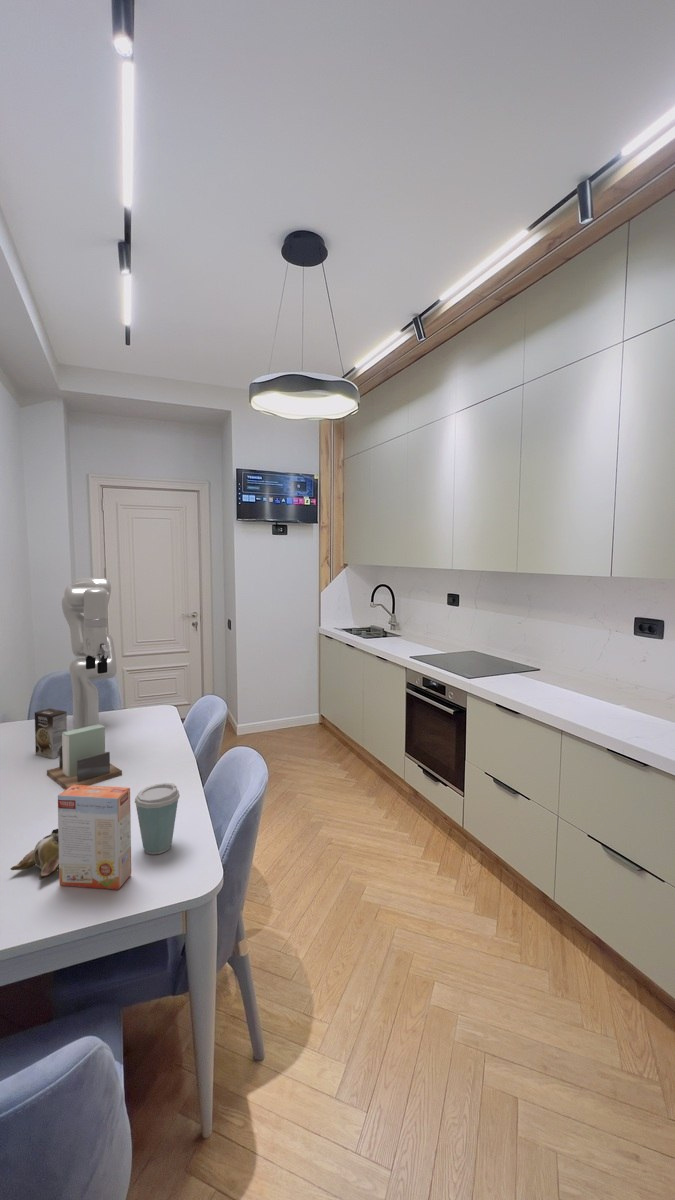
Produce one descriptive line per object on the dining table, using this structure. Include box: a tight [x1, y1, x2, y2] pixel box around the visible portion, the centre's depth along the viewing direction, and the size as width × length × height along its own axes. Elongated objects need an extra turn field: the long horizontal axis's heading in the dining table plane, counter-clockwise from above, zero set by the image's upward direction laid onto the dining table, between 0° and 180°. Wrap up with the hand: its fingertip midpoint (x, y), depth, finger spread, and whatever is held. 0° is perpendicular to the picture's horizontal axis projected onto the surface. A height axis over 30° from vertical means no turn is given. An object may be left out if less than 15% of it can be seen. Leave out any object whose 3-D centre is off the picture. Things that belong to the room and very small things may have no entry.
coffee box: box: [34, 708, 68, 760], centre depth 183 cm, size 9×6×16 cm
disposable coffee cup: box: [134, 782, 181, 855], centre depth 125 cm, size 11×11×15 cm
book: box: [62, 723, 106, 777], centre depth 166 cm, size 4×12×14 cm, turn 139°
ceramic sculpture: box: [10, 828, 59, 880], centre depth 117 cm, size 11×9×15 cm
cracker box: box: [57, 785, 132, 891], centre depth 111 cm, size 14×6×21 cm, turn 84°
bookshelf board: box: [46, 747, 123, 791], centre depth 166 cm, size 18×17×8 cm
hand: (96, 670), depth 178 cm, fingers open, 9 cm apart
